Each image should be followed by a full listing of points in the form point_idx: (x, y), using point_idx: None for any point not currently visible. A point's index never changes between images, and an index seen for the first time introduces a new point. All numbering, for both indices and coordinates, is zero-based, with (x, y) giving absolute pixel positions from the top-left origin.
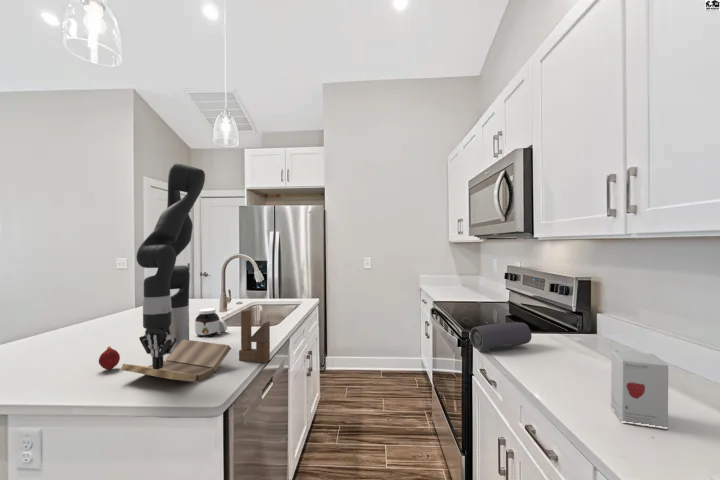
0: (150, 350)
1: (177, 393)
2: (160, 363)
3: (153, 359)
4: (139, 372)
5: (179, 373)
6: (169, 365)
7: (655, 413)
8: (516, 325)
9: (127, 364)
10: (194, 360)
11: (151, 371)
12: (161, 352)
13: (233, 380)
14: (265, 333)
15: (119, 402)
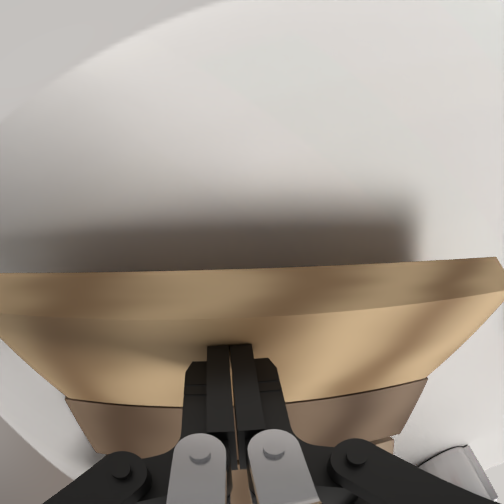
0: (337, 483)
1: (22, 250)
2: (186, 395)
3: (252, 408)
4: (341, 270)
5: (2, 337)
6: (331, 428)
7: None
8: None
9: (487, 293)
10: (232, 481)
11: (198, 297)
12: (107, 484)
13: (3, 402)
14: None
15: (209, 19)
